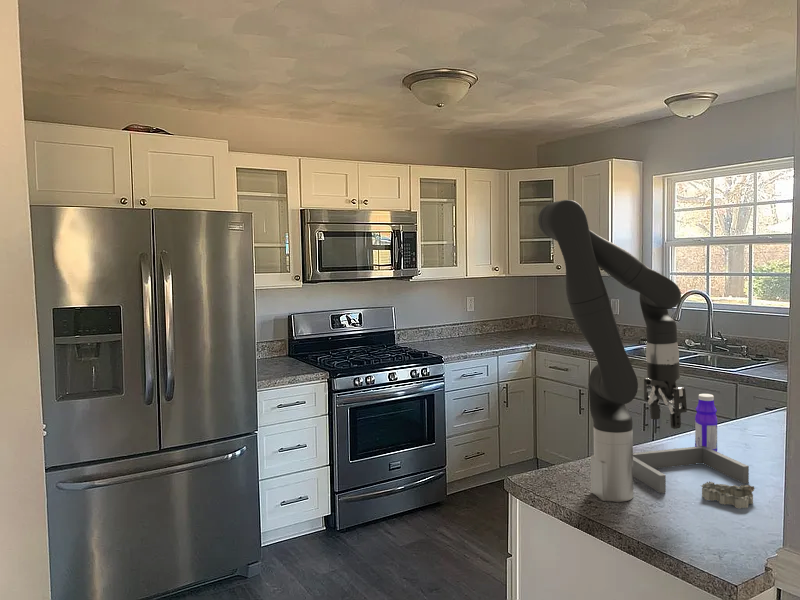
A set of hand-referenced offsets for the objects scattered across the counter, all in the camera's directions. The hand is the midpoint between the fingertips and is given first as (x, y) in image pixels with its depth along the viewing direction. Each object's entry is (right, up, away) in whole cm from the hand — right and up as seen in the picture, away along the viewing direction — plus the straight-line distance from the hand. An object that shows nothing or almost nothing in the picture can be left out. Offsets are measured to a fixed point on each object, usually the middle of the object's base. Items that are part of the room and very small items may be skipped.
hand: (665, 423), depth 155 cm
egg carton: (+12, -18, -6) cm, 22 cm away
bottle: (+24, -15, +29) cm, 40 cm away
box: (+9, -16, +10) cm, 21 cm away
